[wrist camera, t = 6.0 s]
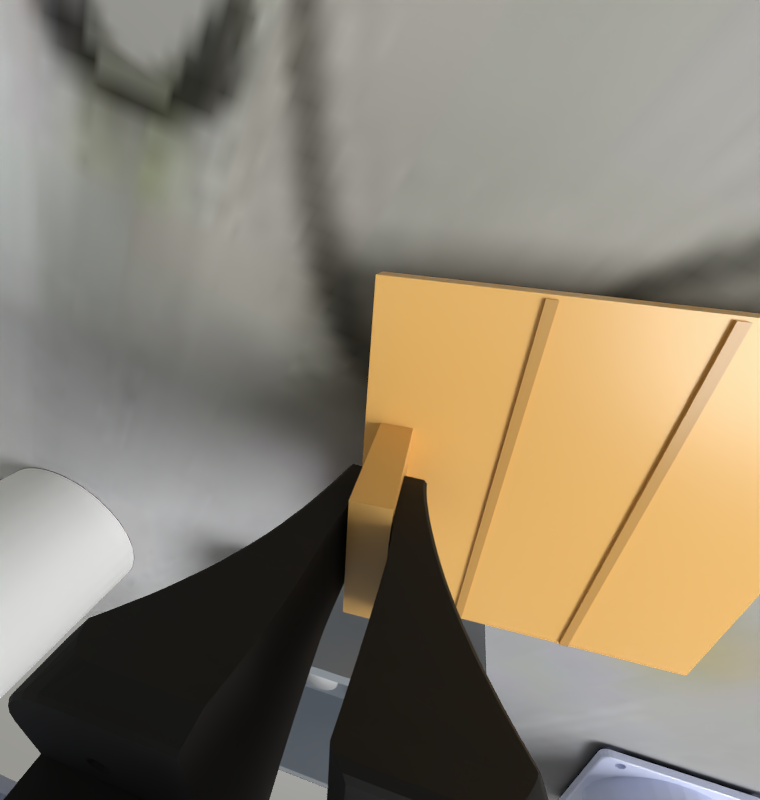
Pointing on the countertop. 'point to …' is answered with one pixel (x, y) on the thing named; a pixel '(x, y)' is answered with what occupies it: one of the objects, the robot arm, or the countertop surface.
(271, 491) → the countertop surface
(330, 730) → the tub
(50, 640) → the cylinder container
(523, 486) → the lid
